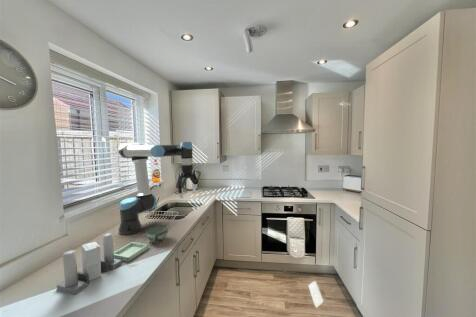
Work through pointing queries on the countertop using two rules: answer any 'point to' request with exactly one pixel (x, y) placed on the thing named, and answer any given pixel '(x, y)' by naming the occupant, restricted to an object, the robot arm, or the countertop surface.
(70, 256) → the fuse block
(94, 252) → the skincare box
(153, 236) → the bowl
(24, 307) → the countertop surface
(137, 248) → the tray
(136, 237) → the countertop surface
